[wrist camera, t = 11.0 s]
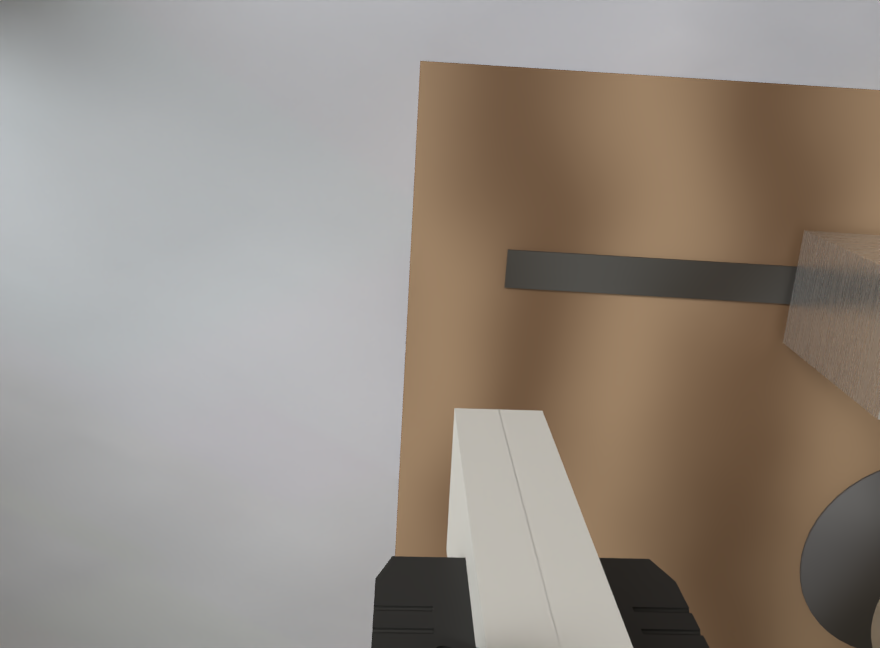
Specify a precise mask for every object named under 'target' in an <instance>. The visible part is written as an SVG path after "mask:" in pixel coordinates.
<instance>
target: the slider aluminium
mask: <svg viewBox="0 0 880 648" xmlns="http://www.w3.org/2000/svg"><path fill="white" fill-rule="evenodd" d="M783 343H784V344H785V345H786V346H788V347H789V348H790V349H791V350H793V351H794V352H795V353H796V354H797V355H799V356H800V357H801V358H802V359H804V360H805V361H806V362H807V363H809V364H810V365H811V366H812V367H814V368H815V369H816V370H817V371H818V372H820V373H821V374H822V375H823V376H825V377H826V378H827V379H828V380H830V381H831V382H832V383H833V384H835V385H836V386H837V387H838V388H839V389H841V390H842V391H843V392H844V393H846V394H847V395H848V396H849V397H851V398H852V399H853V400H854V401H856V402H857V403H858V404H859V405H860V406H862V407H863V408H864V409H865V410H867V411H868V412H869V413H870V414H872V415H873V416H874V417H875V418H877V419H878V420H880V235H872V234H856V233H839V232H822V231H806V230H804V234H803V239H802V244H801V250H800V255H799V260H798V265H797V270H796V276H795V281H794V286H793V291H792V296H791V302H790V307H789V312H788V317H787V322H786V328H785V333H784V338H783Z"/></svg>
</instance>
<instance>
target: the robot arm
mask: <svg viewBox="0 0 880 648" xmlns="http://www.w3.org/2000/svg"><path fill="white" fill-rule="evenodd" d="M446 550H447V557H407V556H392V557H391V559H390V560H389V561H388V563H387V564H386V565H385V567H384V568H383V569H382V571H381V572H380V573H379V575H378V576H377V578H376V581H375V598H374V614H373V632H372V646H371V648H709V646H708V644H707V642H706V640H705V638H704V636H703V635H701V634H700V628H699V626H698V624H697V622H696V620H695V618H694V616H693V614H692V613H689V607H688V605H687V603H686V601H685V599H684V597H683V595H682V593H681V591H680V589H679V587H678V585H677V583H676V581H674V580H673V579H672V578H671V577H670V576H669V575H667V574H666V573H665V572H664V571H663V570H662V569H660V568H659V567H658V566H657V565H656V564H655V563H654V562H652V561H651V560H650V559H634V558H599V557H598V554H597V552H596V549H595V547H594V544H593V541H592V539H591V536H590V534H589V531H588V528H587V526H586V523H585V521H584V518H583V515H582V513H581V510H580V507H579V505H578V502H577V500H576V497H575V494H574V492H573V489H572V487H571V484H570V481H569V479H568V476H567V474H566V471H565V468H564V466H563V463H562V460H561V458H560V455H559V453H558V450H557V447H556V445H555V442H554V440H553V437H552V434H551V432H550V429H549V427H548V424H547V421H546V419H545V416H544V414H543V411H535V410H501V409H467V408H454V425H453V443H452V460H451V478H450V495H449V513H448V530H447V548H446Z"/></svg>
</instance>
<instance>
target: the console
mask: <svg viewBox="0 0 880 648" xmlns="http://www.w3.org/2000/svg"><path fill="white" fill-rule="evenodd" d="M804 230H806V231H822V232H839V233H856V234H872V235H880V90H869V89H853V88H837V87H821V86H806V85H790V84H774V83H758V82H743V81H727V80H711V79H695V78H680V77H664V76H648V75H632V74H617V73H601V72H585V71H569V70H554V69H538V68H522V67H506V66H491V65H475V64H459V63H443V62H427V61H420V80H419V99H418V119H417V138H416V158H415V177H414V197H413V217H412V236H411V256H410V275H409V295H408V314H407V334H406V353H405V373H404V393H403V412H402V432H401V451H400V471H399V490H398V510H397V529H396V549H395V556H407V557H447V550H446V548H447V530H448V513H449V495H450V478H451V460H452V443H453V425H454V408H467V409H501V410H535V411H543V414H544V416H545V419H546V421H547V424H548V427H549V429H550V432H551V434H552V437H553V440H554V442H555V445H556V447H557V450H558V453H559V455H560V458H561V460H562V463H563V466H564V468H565V471H566V474H567V476H568V479H569V481H570V484H571V487H572V489H573V492H574V494H575V497H576V500H577V502H578V505H579V507H580V510H581V513H582V515H583V518H584V521H585V523H586V526H587V528H588V531H589V534H590V536H591V539H592V541H593V544H594V547H595V549H596V552H597V554H598V557H599V558H634V559H650V560H651V561H652V562H654V563H655V564H656V565H657V566H658V567H659V568H660V569H662V570H663V571H664V572H665V573H666V574H667V575H669V576H670V577H671V578H672V579H673V580H674V581H676V583H677V585H678V587H679V589H680V591H681V593H682V595H683V597H684V599H685V601H686V603H687V605H688V607H689V613H692V614H693V616H694V618H695V620H696V622H697V624H698V626H699V628H700V634H701V635H703V636H704V638H705V640H706V642H707V644H708V646H709V648H872V641H871V625H872V620H873V615H874V612H875V609H876V606H877V604H878V602H879V600H880V420H878V419H877V418H875V417H874V416H873V415H872V414H870V413H869V412H868V411H867V410H865V409H864V408H863V407H862V406H860V405H859V404H858V403H857V402H856V401H854V400H853V399H852V398H851V397H849V396H848V395H847V394H846V393H844V392H843V391H842V390H841V389H839V388H838V387H837V386H836V385H835V384H833V383H832V382H831V381H830V380H828V379H827V378H826V377H825V376H823V375H822V374H821V373H820V372H818V371H817V370H816V369H815V368H814V367H812V366H811V365H810V364H809V363H807V362H806V361H805V360H804V359H802V358H801V357H800V356H799V355H797V354H796V353H795V352H794V351H793V350H791V349H790V348H789V347H788V346H786V345H785V344H784V343H783V338H784V333H785V328H786V322H787V317H788V312H789V307H790V302H791V296H792V291H793V286H794V281H795V276H796V270H797V265H798V260H799V255H800V250H801V244H802V239H803V234H804Z"/></svg>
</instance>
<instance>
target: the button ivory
mask: <svg viewBox="0 0 880 648" xmlns="http://www.w3.org/2000/svg"><path fill="white" fill-rule="evenodd" d="M871 641H872V648H880V600H879V602H878V604H877V606H876V609H875V612H874V615H873V620H872V625H871Z"/></svg>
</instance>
